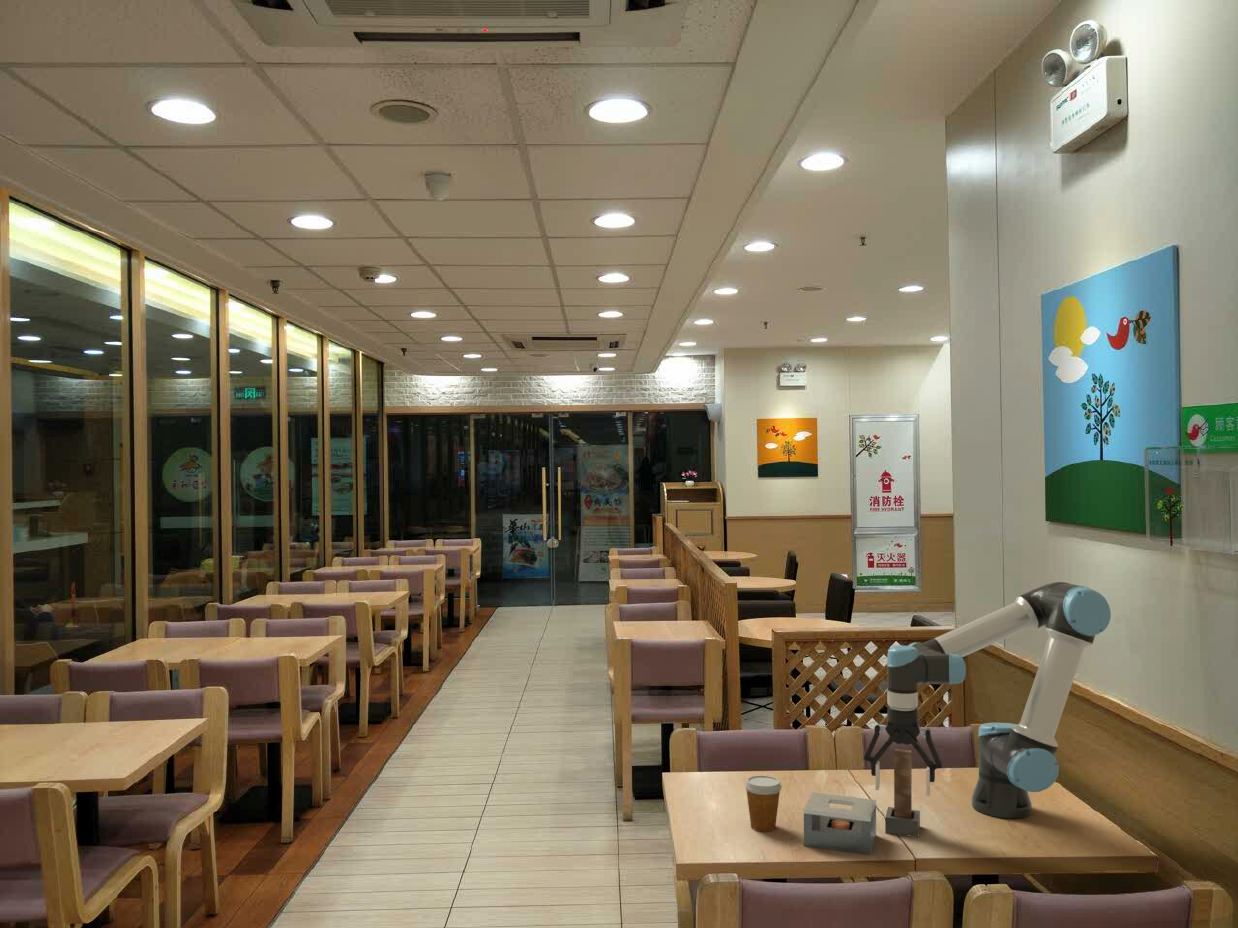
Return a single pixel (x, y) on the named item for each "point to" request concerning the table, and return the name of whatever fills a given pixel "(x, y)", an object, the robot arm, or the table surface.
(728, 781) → the table surface
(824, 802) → the box
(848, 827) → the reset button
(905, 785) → the brown wooden bar
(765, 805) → the disposable coffee cup
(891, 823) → the gray square socket
